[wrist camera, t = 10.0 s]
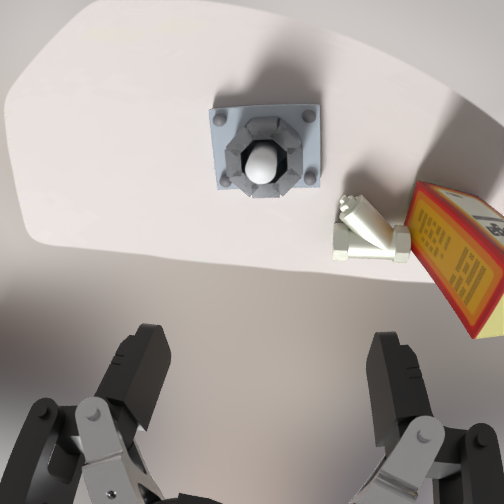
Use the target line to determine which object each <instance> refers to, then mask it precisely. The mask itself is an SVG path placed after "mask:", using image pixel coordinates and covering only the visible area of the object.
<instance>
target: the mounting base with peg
mask: <svg viewBox="0 0 504 504" xmlns="http://www.w3.org/2000/svg"><path fill="white" fill-rule="evenodd" d="M264 116H278V119H279V118H280V117H281V118H282V119H283V120H285V121H286V122H287V123H288V124H289V125H290V126H291V127H292V128H293V129H295V130H296V131H297V132H298V133H299V136H300V139H301V142H302V146H303V175H302V178H301V179H300V180H299V181H298V182H297V183H296V184H295V185H294V186H293V187H292V188H303V187H320V105H319V104H270V105H250V106H235V107H223V108H212V109H210V110H209V118H210V128H211V137H212V146H213V155H214V164H215V172H216V181H217V189H218V190H224V189H239V188H238V187H237V186H236V185H235V184H233V183H232V182H231V181H230V180H229V178H230V177H227V171H226V161H225V151H224V150H225V149H226V146H227V145H228V143H229V142H230V141H231V140H232V139H233V137H234V136H235V135H236V134H237V133H238V132H239V130H240V129H241V128H242V127H243V126H244V125H245V124H246V123H247V122H248V121H249V120H250V118H251V119H252V118H253V117H264ZM248 155H249V159H248V161H247V164H246V167H245V172H246V175H247V177H248V178H249V179H250V180H251V181H252V182H254V183H257V184H266V183H268V182H270V181H271V180H272V179H273V178H274V176H275V174H276V167H277V165H278V164H279V163H280V162H281V161H282V160H283V159H284V158H285V157H286V156H287V152H286V151H285V150H284V149H283V148H282V147H281V146H280V145H279V144H277V143H276V142H275V141H274V140H273V139H267V140H252V142H251V143H250V144H249V145H248Z"/></svg>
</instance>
